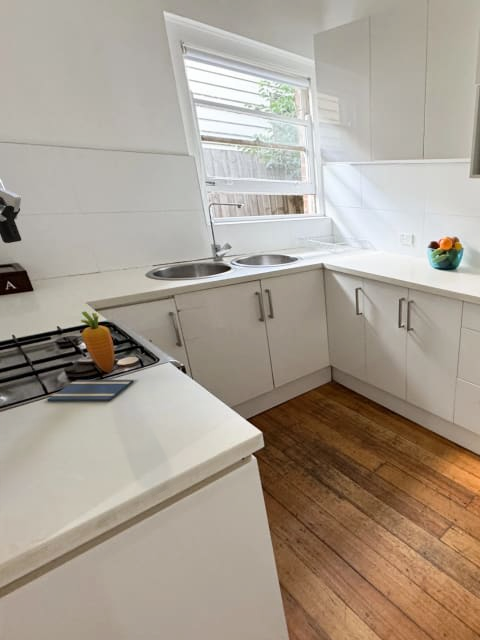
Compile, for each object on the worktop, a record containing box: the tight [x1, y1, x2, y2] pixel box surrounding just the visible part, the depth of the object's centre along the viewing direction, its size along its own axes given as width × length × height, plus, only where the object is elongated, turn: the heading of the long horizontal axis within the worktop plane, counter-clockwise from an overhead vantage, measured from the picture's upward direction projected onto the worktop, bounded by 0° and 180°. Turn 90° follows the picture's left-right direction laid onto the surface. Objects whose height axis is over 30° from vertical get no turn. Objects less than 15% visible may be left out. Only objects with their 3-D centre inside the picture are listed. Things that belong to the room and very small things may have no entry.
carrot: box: [80, 310, 115, 374], centre depth 86 cm, size 5×5×15 cm
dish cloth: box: [46, 379, 134, 402], centre depth 81 cm, size 12×8×1 cm, turn 93°
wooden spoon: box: [77, 356, 140, 369], centre depth 93 cm, size 14×4×1 cm, turn 93°
